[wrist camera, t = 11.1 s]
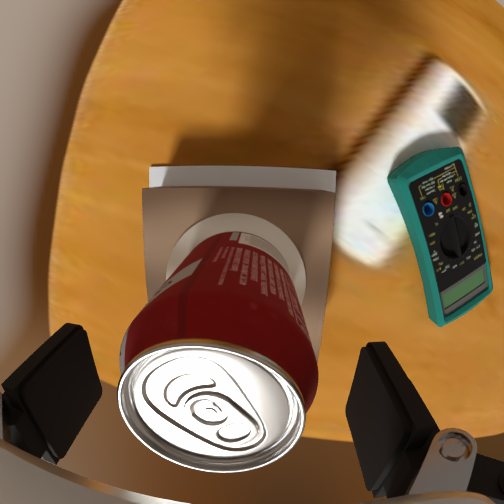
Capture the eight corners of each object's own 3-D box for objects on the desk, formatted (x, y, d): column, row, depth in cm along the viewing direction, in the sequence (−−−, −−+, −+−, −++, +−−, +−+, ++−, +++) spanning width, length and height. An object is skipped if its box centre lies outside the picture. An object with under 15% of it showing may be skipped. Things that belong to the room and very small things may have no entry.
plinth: (161, 186, 22) (141, 188, 18) (322, 189, 22) (336, 192, 18) (168, 330, 25) (153, 355, 21) (309, 336, 25) (317, 364, 21)
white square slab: (150, 167, 22) (149, 167, 22) (335, 170, 22) (336, 170, 21) (159, 342, 25) (159, 343, 25) (318, 349, 25) (318, 350, 25)
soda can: (245, 206, 18) (222, 262, 6) (310, 291, 19) (366, 430, 8) (163, 271, 19) (61, 384, 7) (228, 346, 20) (203, 495, 9)
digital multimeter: (444, 141, 21) (463, 138, 18) (481, 285, 24) (497, 295, 21) (379, 170, 22) (395, 169, 19) (427, 319, 25) (441, 333, 22)
